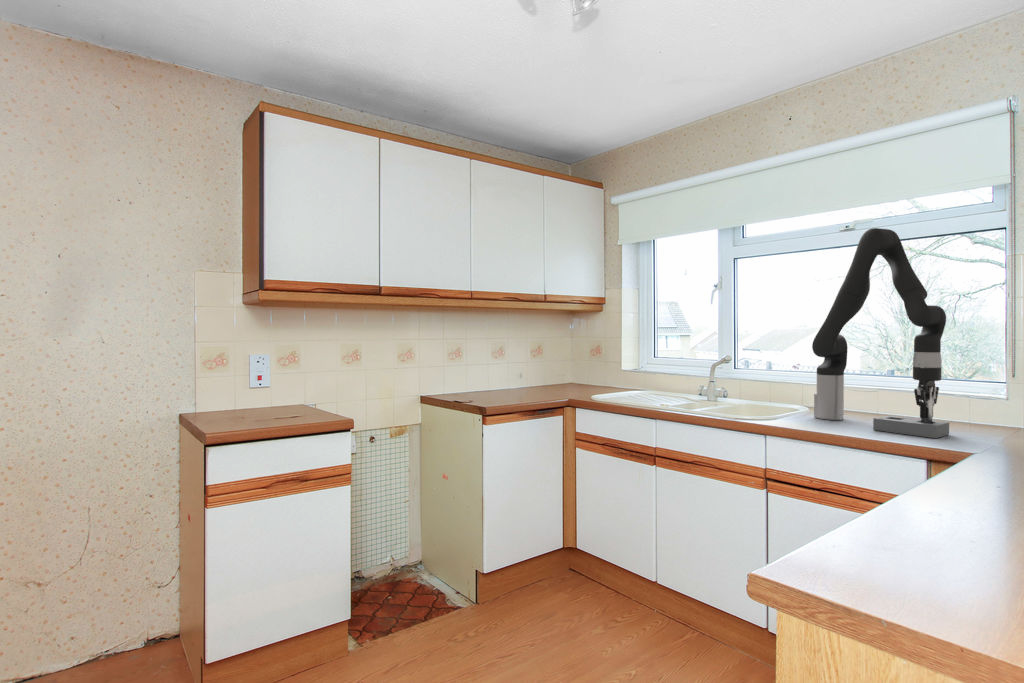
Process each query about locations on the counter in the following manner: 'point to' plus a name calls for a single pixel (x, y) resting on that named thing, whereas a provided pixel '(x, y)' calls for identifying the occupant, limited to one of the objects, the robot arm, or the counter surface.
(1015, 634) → the counter surface
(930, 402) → the steel peg
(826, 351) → the robot arm
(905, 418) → the hole block
